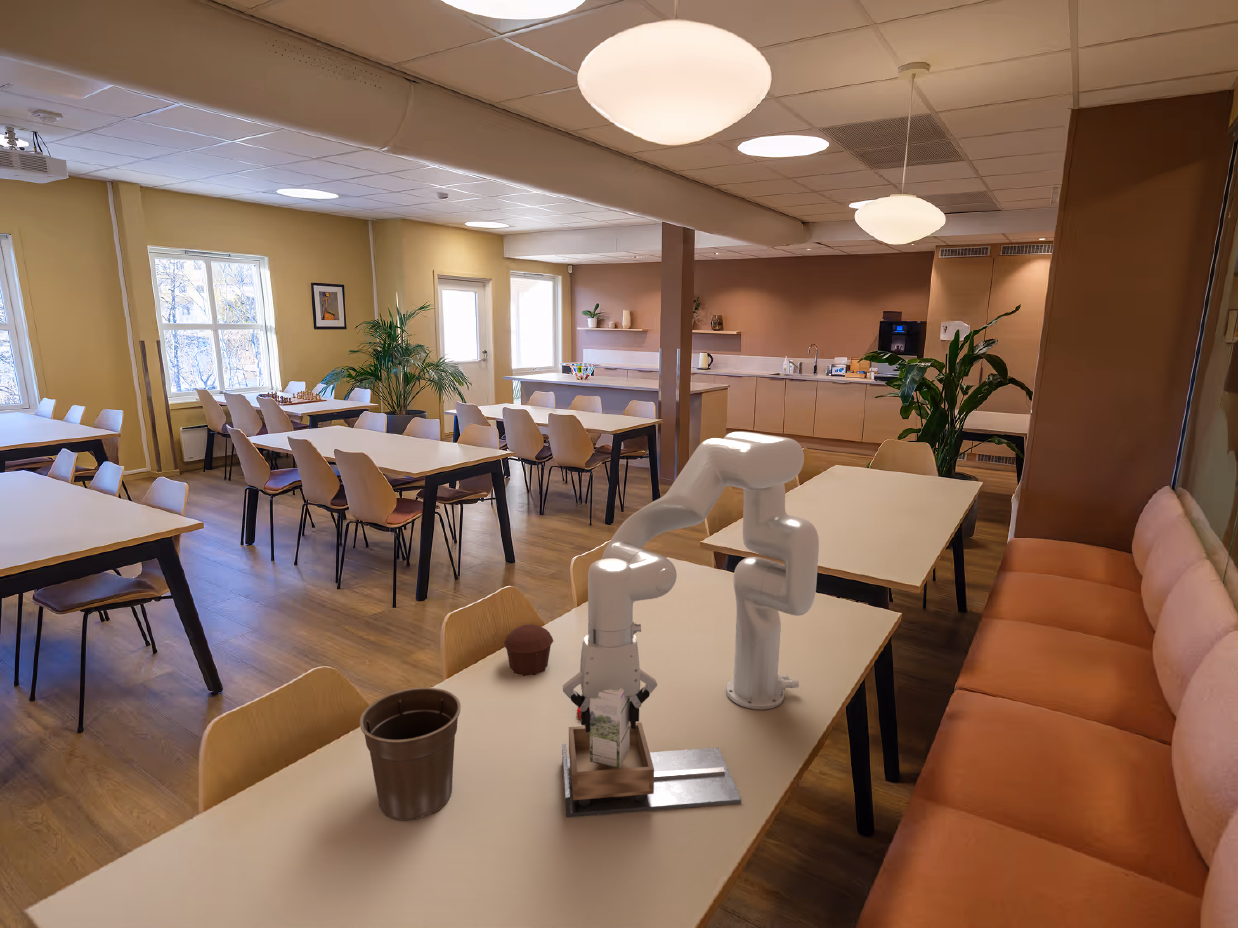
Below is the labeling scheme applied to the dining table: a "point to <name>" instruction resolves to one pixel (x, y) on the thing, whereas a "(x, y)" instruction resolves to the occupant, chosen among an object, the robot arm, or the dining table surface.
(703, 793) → the track
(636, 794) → the open wooden crate
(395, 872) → the dining table surface
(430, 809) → the plant pot
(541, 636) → the muffin
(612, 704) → the syrup box
